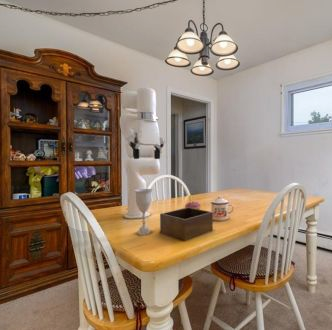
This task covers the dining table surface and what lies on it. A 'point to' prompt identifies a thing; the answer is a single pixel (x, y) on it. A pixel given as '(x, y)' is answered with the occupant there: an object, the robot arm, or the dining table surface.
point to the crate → (186, 223)
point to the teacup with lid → (220, 209)
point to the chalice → (143, 207)
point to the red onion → (193, 204)
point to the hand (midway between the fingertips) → (147, 158)
